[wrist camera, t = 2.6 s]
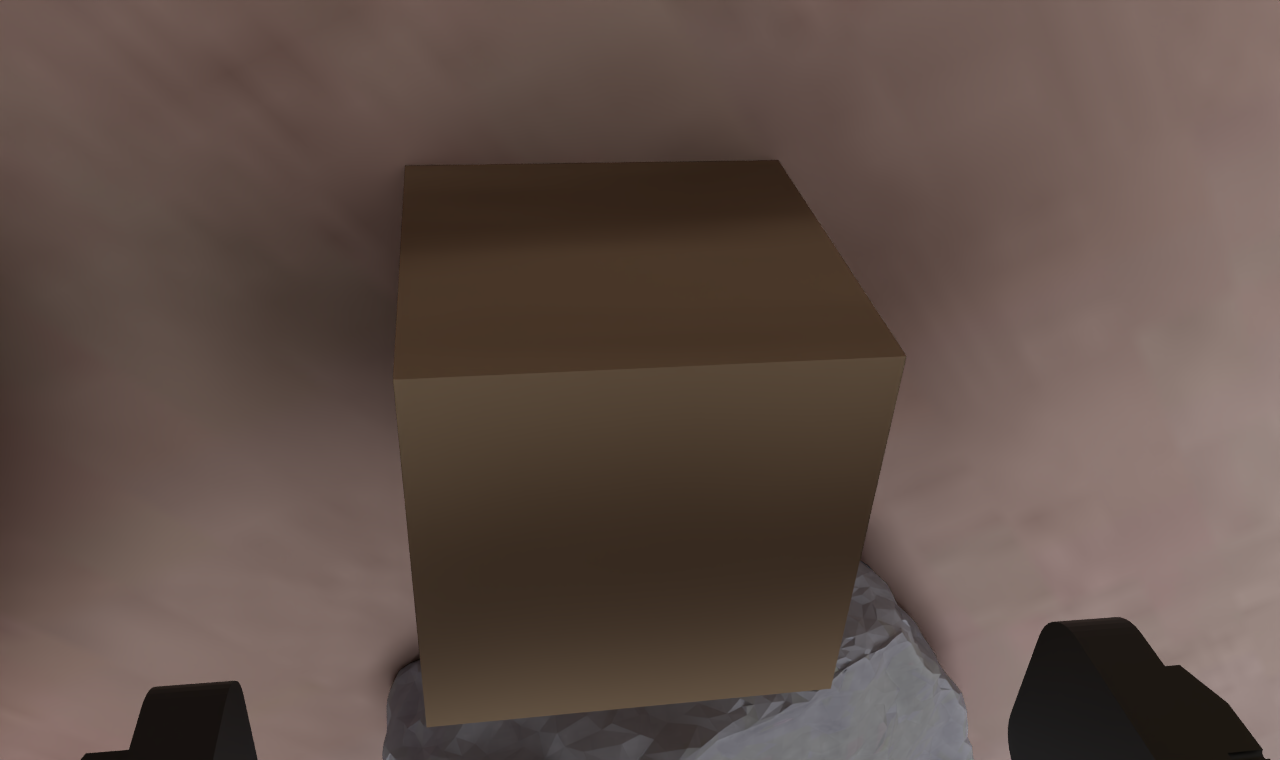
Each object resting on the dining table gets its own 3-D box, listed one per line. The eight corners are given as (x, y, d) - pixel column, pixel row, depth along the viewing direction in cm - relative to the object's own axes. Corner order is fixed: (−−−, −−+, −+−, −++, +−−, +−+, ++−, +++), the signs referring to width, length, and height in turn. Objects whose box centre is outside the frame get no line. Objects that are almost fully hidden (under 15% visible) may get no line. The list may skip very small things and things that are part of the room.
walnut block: (404, 163, 14) (392, 380, 10) (776, 158, 15) (905, 356, 11) (428, 463, 17) (426, 727, 13) (739, 445, 18) (830, 688, 13)
